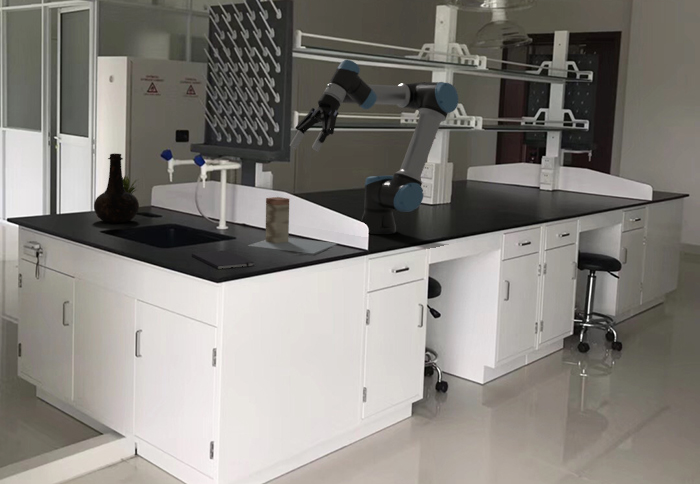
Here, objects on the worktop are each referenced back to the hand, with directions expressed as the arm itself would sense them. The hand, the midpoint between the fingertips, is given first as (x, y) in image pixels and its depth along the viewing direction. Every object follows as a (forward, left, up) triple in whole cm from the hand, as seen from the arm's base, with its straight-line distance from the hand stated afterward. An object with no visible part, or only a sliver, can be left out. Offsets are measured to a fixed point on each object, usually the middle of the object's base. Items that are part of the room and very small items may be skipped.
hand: (303, 148), depth 275 cm
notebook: (+34, -12, -36) cm, 51 cm away
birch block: (-3, -12, -35) cm, 37 cm away
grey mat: (-1, -4, -36) cm, 36 cm away
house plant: (-38, -109, -36) cm, 121 cm away
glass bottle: (-8, -89, -36) cm, 96 cm away
